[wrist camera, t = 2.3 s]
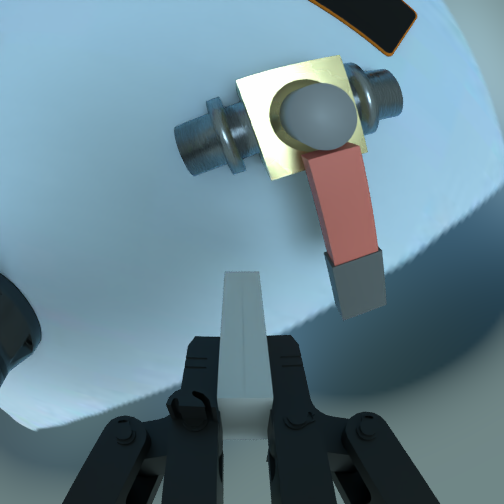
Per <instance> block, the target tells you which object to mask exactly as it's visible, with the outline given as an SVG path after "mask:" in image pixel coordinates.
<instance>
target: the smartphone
mask: <svg viewBox="0 0 504 504" xmlns="http://www.w3.org/2000/svg"><path fill="white" fill-rule="evenodd" d="M308 1H310V2H312V3H313V4H315V5H317V6H318V7H320V8H322V9H323V10H325V11H326V12H328V13H329V14H331V15H332V16H334V17H335V18H337V19H338V20H340V21H341V22H343V23H344V24H346V25H347V26H348V27H350V28H351V29H353V30H354V31H355V32H357V33H358V34H359V35H361V36H362V37H363V38H365V39H366V40H367V41H368V42H370V43H371V44H372V45H373V46H375V47H376V48H377V49H378V50H380V51H381V52H382V53H383V54H384V55H386V56H392V55H393V54H394V52H395V51H396V49H397V48H398V46H399V44H400V43H401V41H402V40H403V38H404V37H405V35H406V34H407V32H408V31H409V29H410V28H411V26H412V25H413V23H414V22H415V20H416V19H417V14H416V12H415V11H414V10H413V9H412V8H411V7H410V6H409V5H407V4H406V3H405V2H404V1H403V0H308Z"/></svg>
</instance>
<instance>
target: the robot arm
mask: <svg viewBox="0 0 504 504" xmlns="http://www.w3.org/2000/svg"><path fill="white" fill-rule="evenodd" d="M40 339H41V330H40V326H39V323H38V320H37V318H36V315H35V313H34V311H33V310H32V308H31V306H30V305H29V303H28V302H27V300H26V299H25V298H24V296H23V295H22V294H21V292H20V291H19V290H18V289H17V288H16V287H15V286H14V285H13V284H12V283H11V282H10V281H9V280H7V279H6V278H5V277H4V276H2V275H1V274H0V387H1V385H2V383H3V381H4V380H5V378H6V376H7V374H8V373H9V371H10V370H12V369H13V368H14V367H16V366H17V365H18V364H20V363H21V362H22V361H24V360H25V359H26V358H28V357H29V356H30V355H31V354H32V353H33V352H34V351H35V349H36V347H37V346H38V344H39V342H40ZM166 405H167V408H168V411H169V413H170V415H168V416H167V417H165V418H162V419H159V420H153V421H148V422H141V421H139V420H138V419H136V418H134V417H130V416H120V417H117V418H115V419H112V420H111V421H110V422H109V423H108V424H107V425H106V427H105V428H104V430H103V432H102V433H101V435H100V437H99V439H98V440H97V442H96V444H95V446H94V447H93V449H92V451H91V452H90V454H89V456H88V458H87V460H86V461H85V463H84V465H83V467H82V468H81V470H80V472H79V474H78V476H77V477H76V479H75V481H74V483H73V485H72V486H71V488H70V490H69V492H68V494H67V496H66V497H65V499H64V501H63V503H62V504H152V502H153V500H154V498H155V495H156V493H157V491H158V488H159V486H160V483H161V481H162V479H163V476H164V484H163V493H162V504H223V457H224V456H223V440H258V439H267V438H268V446H269V449H268V455H267V462H268V465H269V477H270V490H271V502H272V504H337V501H336V496H335V491H334V486H333V481H334V483H335V486H336V487H337V489H338V491H339V493H340V495H341V497H342V499H343V501H344V503H345V504H440V503H439V502H438V500H437V498H436V497H435V495H434V494H433V492H432V491H431V489H430V488H429V486H428V484H427V483H426V481H425V480H424V478H423V477H422V475H421V474H420V472H419V471H418V469H417V468H416V466H415V465H414V463H413V462H412V461H411V459H410V457H409V456H408V454H407V453H406V451H405V450H404V449H403V447H402V445H401V444H400V442H399V441H398V439H397V438H396V437H395V435H394V433H393V432H392V430H391V429H390V427H389V426H388V424H387V423H386V421H384V419H383V418H382V417H381V416H379V415H377V414H375V413H372V412H361V413H357V414H356V415H354V416H353V417H351V418H350V419H346V418H339V417H332V416H328V415H325V414H323V413H321V412H320V411H319V410H317V409H316V408H315V407H314V405H313V404H312V401H311V399H310V395H309V390H308V385H307V381H306V376H305V371H304V367H303V362H302V358H301V353H300V349H299V344H298V343H297V342H296V341H295V340H294V338H293V337H292V336H291V335H275V336H266V328H265V319H264V310H263V301H262V293H261V284H260V276H259V272H225V277H224V290H223V304H222V319H221V334H220V337H201V336H195V337H194V339H193V340H192V341H191V343H190V344H189V345H188V349H187V355H186V361H185V368H184V373H183V380H182V386H181V389H180V390H178V391H175V392H174V393H173V394H172V395H171V396H170V397H169V399H168V401H167V403H166ZM164 474H165V475H164Z"/></svg>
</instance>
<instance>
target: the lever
mask: <svg viewBox="0 0 504 504" xmlns="http://www.w3.org/2000/svg"><path fill="white" fill-rule="evenodd" d="M279 116H280V121H281V124H282V127H283V128H284V130H285V131H286V133H287V134H288V135H290V136H291V137H292V138H294V139H296V140H298V141H300V142H302V143H304V144H306V145H308V146H310V147H312V148H315V149H318V150H316V151H313V152H309V153H306V154H303V155H301V157H302V160H303V164H304V167H305V171H306V174H307V177H308V181H309V184H310V188H311V192H312V195H313V199H314V203H315V206H316V210H317V214H318V218H319V222H320V226H321V230H322V234H323V238H324V242H325V246H326V250H327V252H324V255H325V260H326V264H327V268H328V272H329V277H330V281H331V286H332V290H333V295H334V300H335V304H336V306H337V308H338V310H339V313H340V315H341V317H342V319H343V320H346V319H349V318H352V317H355V316H357V315H360V314H363V313H365V312H368V311H371V310H373V309H376V308H379V307H381V306H384V305H386V291H385V278H384V266H383V257H382V250H381V249H380V248H379V247H378V243H377V236H376V229H375V222H374V216H373V209H372V204H371V198H370V192H369V187H368V182H367V177H366V172H365V167H364V163H363V158H362V154H361V149H360V146H359V145H356V144H353V143H350V142H348V141H349V139H350V138H351V137H352V135H353V134H354V132H355V129H356V126H357V111H356V107H355V105H354V103H353V101H352V99H351V98H350V96H349V95H348V94H347V93H346V92H345V91H344V90H342V89H341V88H339V87H337V86H335V85H332V84H328V83H316V84H312V85H309V86H306V87H303V88H300V89H297V90H295V91H293V92H291V93H290V94H288V95H287V96H286V97H285V99H284V100H283V102H282V104H281V107H280V112H279Z"/></svg>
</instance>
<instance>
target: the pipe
mask: <svg viewBox="0 0 504 504" xmlns="http://www.w3.org/2000/svg"><path fill="white" fill-rule="evenodd" d="M316 83H328V84H332V85H335V86H337V87H339V88H341V89H342V90H344V91H345V92H346V93H347V94H348V95H349V96H350V98H351V99H352V101H353V103H354V105H355V107H356V111H357V126H356V129H355V132H354V134H353V135H352V137H351V138H350V139H349V141H348V142H350V143H353V144H356V145H359V146H360V149H361V154H363V153H366V152H368V151H367V147H366V142H365V138H364V135H368V134H372V133H374V132H375V131H376V129H377V127H378V123H379V120H381V119H386V118H391V117H396V116H398V115H400V113H401V112H402V108H403V97H402V92H401V89H400V86H399V84H398V82H397V80H396V79H395V77H394V76H393V75H392V74H391V73H390V72H389V71H388V70H385V69H380V70H373V71H366V72H364V71H363V70H362V69H361V68H360V67H359V66H358V65H356V64H354V63H345V64H343V63H342V60H341V57H340V55H337V56H331V57H325V58H320V59H315V60H310V61H306V62H301V63H297V64H292V65H288V66H284V67H280V68H277V69H273V70H269V71H266V72H262V73H259V74H255V75H252V76H249V77H245V78H242V79H239V80H236V91H237V93H238V96H239V99H240V101H241V102H239V103H236V104H233V105H231V106H228V107H225V108H224V107H223V104H222V102H221V100H220V98H219V97H217V98H214V99H211V100H209V101H206V105H207V109H208V113H209V114H206V115H203V116H201V117H198V118H196V119H193V120H191V121H188V122H186V123H183V124H181V125H179V126H176V127H175V129H174V133H175V139H176V143H177V146H178V149H179V152H180V155H181V157H182V159H183V161H184V163H185V165H186V167H187V169H188V170H189V172H190V173H191V174H192V175H193V176H196V175H199V174H201V173H204V172H207V171H209V170H212V169H215V168H217V167H220V166H223V165H226V164H228V166H229V168H230V170H231V172H232V173H233V174H237V173H240V172H243V171H246V168H245V164H244V161H243V158H246V157H248V156H251V155H254V154H257V153H259V154H260V157H261V160H262V163H263V165H264V167H265V169H266V171H267V173H268V174H269V176H270V178H271V180H275V179H279V178H282V177H285V176H288V175H291V174H294V173H297V172H301V171H304V170H305V167H304V164H303V160H302V157H301V155H303V154H306V153H309V152H313V151H316V150H318V149H315V148H312V147H310V146H308V145H306V144H304V143H302V142H300V141H298V140H296V139H294V138H292V137H291V136H290V135H288V134H287V133H286V131H285V130H284V128H283V127H282V124H281V121H280V116H279V112H280V107H281V104H282V102H283V100H284V99H285V97H286V96H287V95H288V94H290V93H291V92H293V91H295V90H297V89H300V88H303V87H306V86H309V85H312V84H316Z"/></svg>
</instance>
